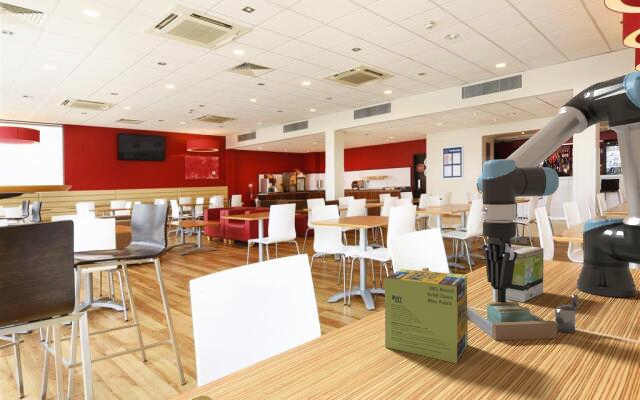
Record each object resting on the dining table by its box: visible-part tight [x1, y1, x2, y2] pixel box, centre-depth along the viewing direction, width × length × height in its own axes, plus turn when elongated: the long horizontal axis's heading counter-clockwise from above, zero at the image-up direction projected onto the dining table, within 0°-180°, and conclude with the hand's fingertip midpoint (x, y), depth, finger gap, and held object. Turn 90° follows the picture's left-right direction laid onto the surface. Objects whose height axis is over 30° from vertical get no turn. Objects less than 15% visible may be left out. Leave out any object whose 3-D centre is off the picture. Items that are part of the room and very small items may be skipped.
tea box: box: [491, 244, 545, 303], centre depth 119 cm, size 15×10×15 cm, turn 131°
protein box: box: [384, 268, 469, 364], centre depth 83 cm, size 10×15×16 cm
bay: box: [467, 299, 558, 341], centre depth 96 cm, size 14×22×4 cm, turn 2°
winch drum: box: [554, 294, 579, 334], centre depth 90 cm, size 5×4×8 cm
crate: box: [486, 300, 531, 323], centre depth 93 cm, size 7×7×6 cm
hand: (499, 313), depth 97 cm, fingers closed
